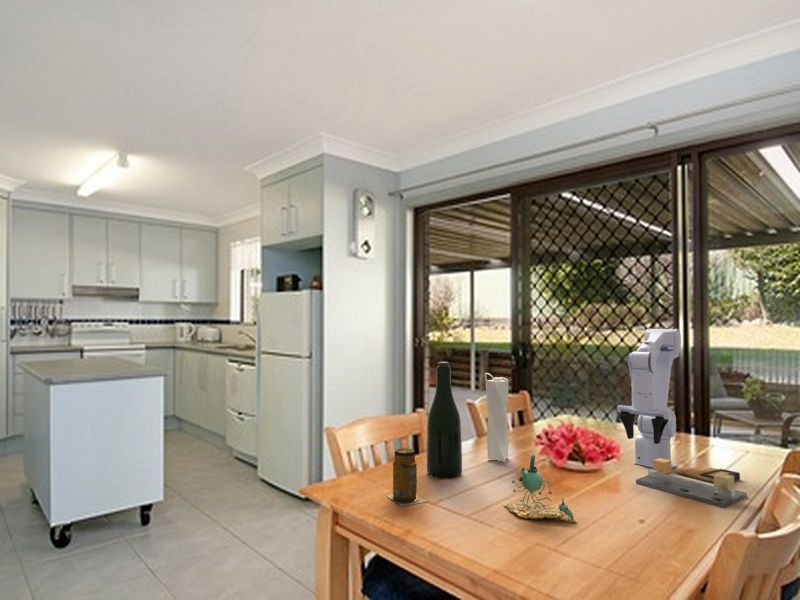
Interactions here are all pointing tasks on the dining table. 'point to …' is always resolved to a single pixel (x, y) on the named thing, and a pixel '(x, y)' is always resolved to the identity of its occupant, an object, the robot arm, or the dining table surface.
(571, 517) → the green creature figurine
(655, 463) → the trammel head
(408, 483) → the condiment
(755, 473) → the dining table surface
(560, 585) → the dining table surface
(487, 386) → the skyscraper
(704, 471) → the ammunition clip
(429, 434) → the dark green wine bottle
